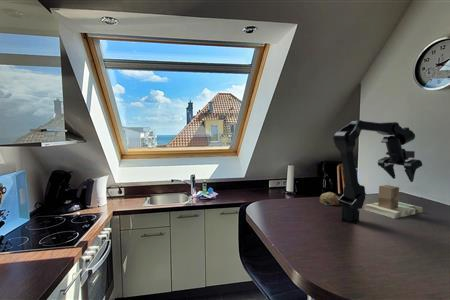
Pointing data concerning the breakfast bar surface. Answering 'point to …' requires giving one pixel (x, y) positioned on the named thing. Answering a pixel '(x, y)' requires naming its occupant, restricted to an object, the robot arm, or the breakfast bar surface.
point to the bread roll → (329, 199)
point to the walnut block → (388, 197)
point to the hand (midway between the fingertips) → (402, 180)
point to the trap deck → (394, 210)
